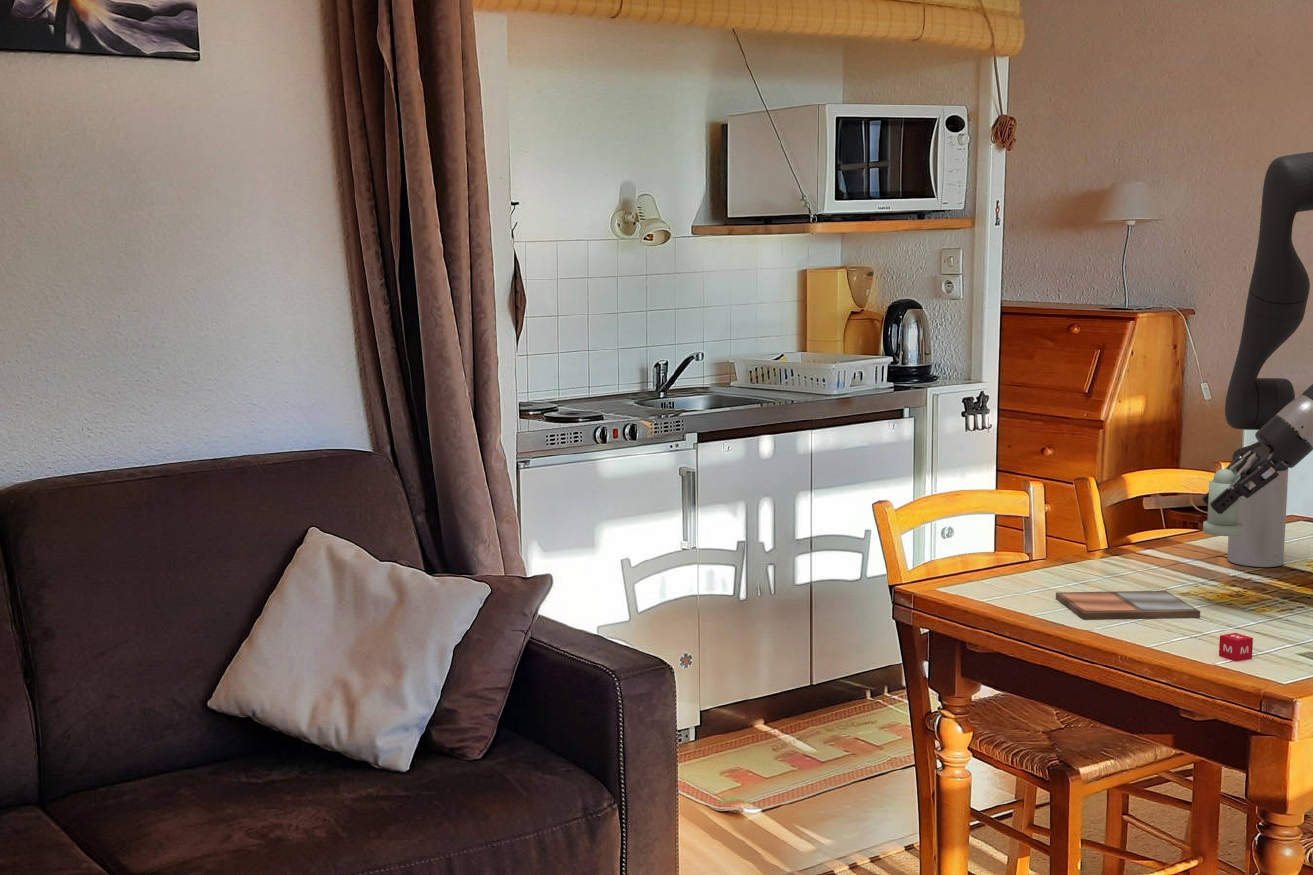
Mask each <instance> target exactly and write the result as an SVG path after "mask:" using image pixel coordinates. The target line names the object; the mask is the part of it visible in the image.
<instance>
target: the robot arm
mask: <svg viewBox="0 0 1313 875" xmlns="http://www.w3.org/2000/svg"><path fill="white" fill-rule="evenodd" d="M1262 187H1263V188H1262V196H1261V206H1260V207H1261V209H1260V221H1259V230H1258V231H1259V233H1258V241H1257V248H1256V252H1255V253H1256V254H1255V259H1254V264H1253V269H1252V270H1253V271H1252V274H1251V279H1250V284H1249V288H1248V293H1247V299H1246V304H1245V305H1246V306H1245V311H1244V318H1243V326H1242V332H1241V337H1240V342H1239V346H1238V351H1237V355H1236V358H1235V362H1234V365H1233V368H1232V373H1231V376H1230V380H1229V384H1228V388H1227V391H1226V398H1225V406H1224V415H1225V420H1226V423H1227V424H1228V425H1229V427H1231V428H1233V429H1235V430H1236V429H1237V430H1245V431H1247V430H1248V431H1249V430H1250V431H1251V430H1252V431H1256V432H1255V434H1254V435H1255V436H1254V437H1255V439H1256V440H1257V442H1254V443H1252V444H1249V445H1247V446H1244V447H1241V448H1238V449H1236V450H1235V451H1234V452H1233V454H1232V461H1231V462H1230V463H1229V464H1228V465H1227V466H1226V467H1225V469H1228V470H1231V471H1232V472H1233V473H1234V474H1235V477H1236V479H1235V481H1234V482H1233V483H1232V484H1231V485H1230V486H1229V489H1230V490H1229V489H1228V488H1227V489H1226V490H1224V491H1223V492H1222V493H1221V494H1220V495H1219V496H1218V497H1217V498H1215V499H1214V500H1213V501H1212V502H1211V503H1210V506H1211V507H1212V508H1213V509H1214V510H1215V511H1216V512H1217V513H1218V514H1222V513H1223V512H1224V511H1225V510H1227V509H1228V508H1229V507H1230V506H1231V505H1232V504H1233V503H1234V502H1236V501H1237V500H1238V498H1239V511H1238V522H1239V523H1241V524H1242V534H1241V535H1239V536H1227V538H1228V539H1227V553H1226V554H1227V555H1226V556H1227V561H1228V562H1230V563H1233V564H1236V565H1240V566H1245V567H1256V568H1273V567H1274V568H1275V567H1280V566H1283V564H1284V559H1285V558H1284V554H1285V542H1286V540H1285V539H1286V524H1287V523H1286V522H1287V506H1288V505H1287V502H1288V484H1289V483H1288V482H1289V469H1293V468H1294V467H1295V466H1297V465H1298V463H1300V462H1301V461H1302V460H1304V459H1305V457H1307V455H1309V454H1311V453H1312V452H1313V383H1312V384H1311V385H1310V386H1309V387H1308V388H1307V389H1306V390H1304V391H1303V392H1302V393H1301V394H1299V395H1298V396H1297V397H1296V395H1295V394H1296V393H1295V388H1294V385H1293V383H1292V382H1291V381H1290V380H1289V379H1287V378H1281V377H1267V378H1266V377H1258V376H1259V374H1260V371H1261V369H1262V368H1263V366H1264V365H1265V363H1266V362H1267V360H1268V359H1269V358H1270V357H1271V356H1272V354H1274V353H1275V352H1276V351H1277V350H1278V349H1279V348H1280V347H1281V346H1282V345H1283V344H1285V342H1286V341H1287V340H1288V339H1289V338H1290V337H1291V336H1292V335H1293V334H1294V333H1295V332H1296V331H1297V330H1298V328H1299V327H1300V325H1301V323H1302V322H1303V320H1304V318H1305V314H1306V310H1307V304H1308V300H1309V294H1310V288H1311V283H1310V277H1309V274H1308V272H1307V270H1306V267H1305V266H1304V264H1303V262H1302V260H1301V258H1300V256H1299V255H1298V253H1297V251H1296V248H1295V246H1294V243H1293V228H1294V227H1293V226H1294V219H1295V217H1296V214H1297V213H1302V212H1310V211H1313V151H1311V152H1310V151H1309V152H1302V153H1301V152H1300V153H1294V154H1288V155H1282V156H1279V157H1276V158H1274V159H1273V160H1272V161H1271V162H1270V164H1269V165H1268V167H1267V170H1266V172H1265V175H1264V180H1263V186H1262ZM1208 499H1209V491H1208V492H1207V493H1205V494H1204V495H1203V496H1202V497H1201V500H1202V502H1203V503H1204V504H1205V505H1206V506H1207V507H1208Z"/></svg>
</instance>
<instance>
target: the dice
mask: <svg viewBox="0 0 1313 875" xmlns="http://www.w3.org/2000/svg"><path fill="white" fill-rule="evenodd" d="M1218 643H1219V645H1218V646H1219V648H1218V649H1219V650H1218V656H1219V657H1221V658H1224V659H1227V660H1230V661H1233V662H1242V661H1247V660H1252V659H1253V647H1254V646H1253V645H1254V644H1253V643H1254V637H1251V636H1249V635H1248V636H1247V635H1245V634H1242V633H1241V634H1240V633H1238V632H1232V633H1226V634H1225V633H1224V634H1220V635H1219V642H1218Z"/></svg>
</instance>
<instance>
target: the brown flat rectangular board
mask: <svg viewBox="0 0 1313 875" xmlns="http://www.w3.org/2000/svg"><path fill="white" fill-rule="evenodd" d="M1055 600H1057V601H1058V602H1060V603H1061V604H1062V605H1064V606H1065V607H1067V609H1069V610H1070V611H1072V612H1073V613H1074V614H1076V615H1077V616H1078V617H1079V618H1081V619H1082V621H1083V620H1087V621H1088V620H1130V619H1131V620H1133V619H1134V620H1135V619H1136V620H1139V619H1143V620H1145V619H1147V620H1148V619H1189V618H1190V619H1197V618H1199V619H1200V618H1201V611H1200V610H1199V609H1198V608H1196V607H1194V606H1192V605H1190V604H1189V603H1187V602H1185V601H1184V600H1182V599H1181V598H1179V597H1177V596H1175V595H1174V594H1172V593H1170V592H1169V591H1167V590H1135V591H1134V590H1132V591H1126V590H1125V591H1124V590H1123V591H1120V590H1119V591H1072V592H1070V591H1067V592H1066V591H1064V592H1063V591H1059V592H1057V591H1056V592H1055Z"/></svg>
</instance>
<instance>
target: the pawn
mask: <svg viewBox="0 0 1313 875" xmlns="http://www.w3.org/2000/svg"><path fill="white" fill-rule="evenodd" d="M1235 479H1236V477H1235V474H1234V473H1233V472H1232V471H1231V470H1228V469H1226V468H1221V469H1219V470H1217V471H1216V472H1215V474H1214V475H1213V480H1212V479H1211V480H1208V481H1209V482H1208V483H1209V484H1208V492H1209V499H1208V506H1207V520H1204V521H1203V524H1202V533H1203V534H1207V535H1209V536H1216V537H1228V536H1239V535H1241V534H1242V524H1241V523H1239V522H1238V511H1239V498H1238V500H1237V501H1236V502H1234V503H1233V504H1232V505H1231V506H1230V507H1229V508H1228V509H1227V510H1225V511H1224V512H1223V513H1222V514H1218V513H1217V512H1216V511H1215V510H1214V509H1213V508H1212V507H1211V506H1210V503H1211V502H1212V501H1213V500H1214V499H1215V498H1217V497H1218V496H1219V495H1220V494H1221V493H1222V492H1223V491H1224V490H1226V489H1227V488H1228V489H1229V486H1230V485H1231V484H1232V483H1233V482H1234V481H1235ZM1229 490H1230V489H1229Z"/></svg>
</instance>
